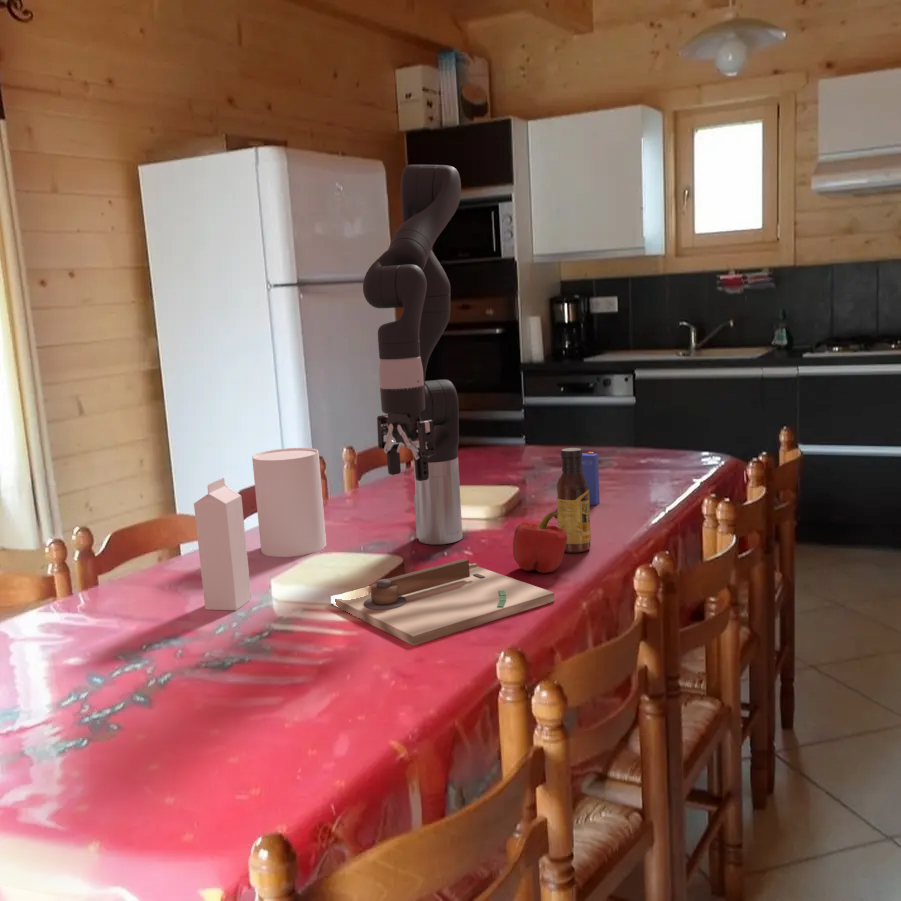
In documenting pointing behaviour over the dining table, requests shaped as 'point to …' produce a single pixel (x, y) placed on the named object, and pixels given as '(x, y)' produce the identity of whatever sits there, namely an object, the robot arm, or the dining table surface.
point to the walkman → (591, 475)
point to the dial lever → (419, 581)
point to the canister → (289, 501)
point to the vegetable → (539, 545)
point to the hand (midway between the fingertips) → (408, 477)
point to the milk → (222, 548)
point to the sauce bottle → (573, 502)
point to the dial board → (449, 606)
